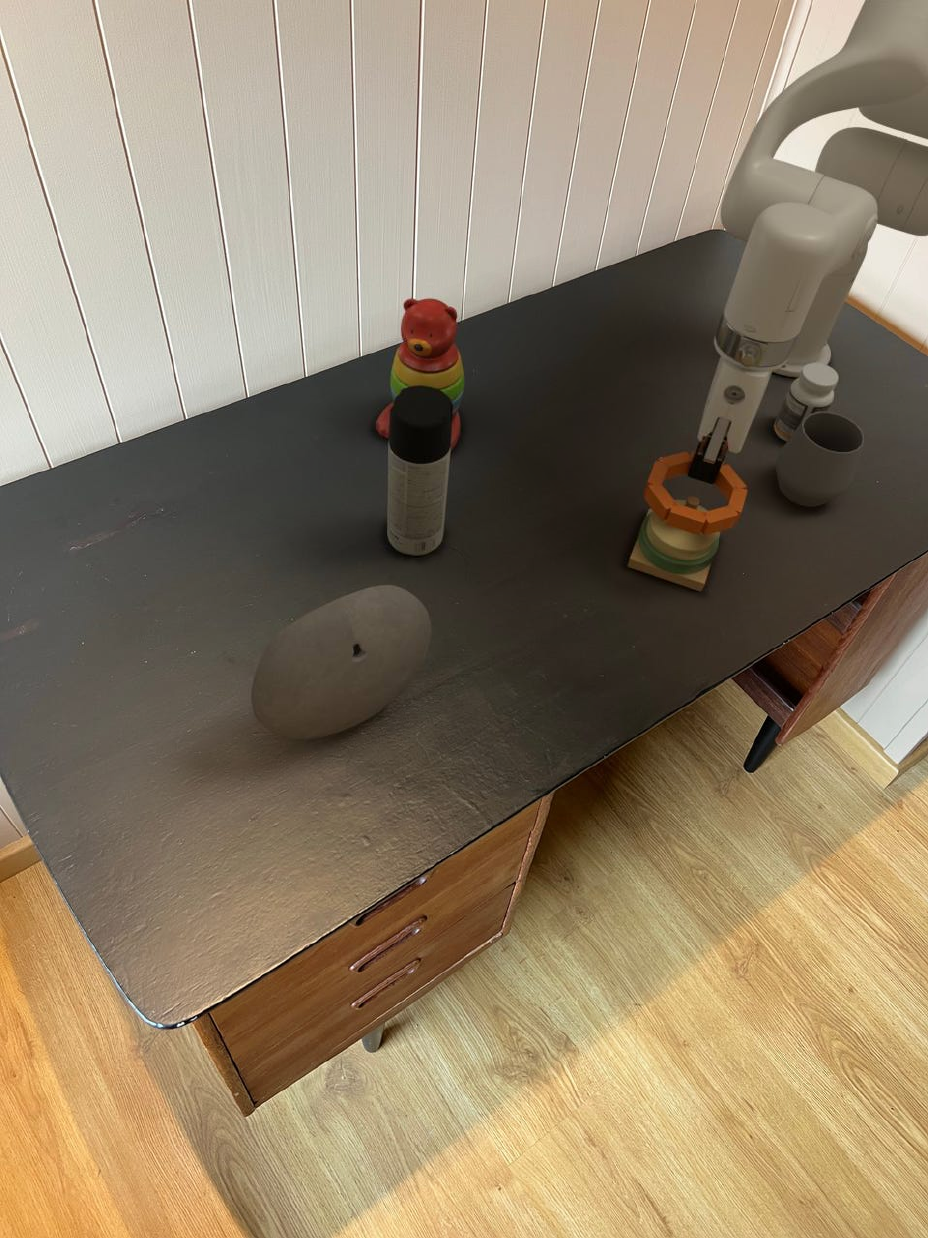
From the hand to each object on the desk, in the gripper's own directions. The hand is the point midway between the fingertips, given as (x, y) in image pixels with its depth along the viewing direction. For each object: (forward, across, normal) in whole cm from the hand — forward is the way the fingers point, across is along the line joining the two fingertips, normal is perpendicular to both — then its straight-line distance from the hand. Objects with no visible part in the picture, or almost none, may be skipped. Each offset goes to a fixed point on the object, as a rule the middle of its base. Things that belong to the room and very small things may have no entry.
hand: (703, 471), depth 104 cm
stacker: (+10, -4, 0) cm, 11 cm away
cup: (+10, +14, -13) cm, 21 cm away
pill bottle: (+10, +25, -10) cm, 28 cm away
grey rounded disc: (+10, -41, +25) cm, 49 cm away
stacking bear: (+10, +4, +36) cm, 37 cm away
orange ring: (0, -4, 0) cm, 5 cm away
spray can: (+10, -15, +29) cm, 34 cm away
